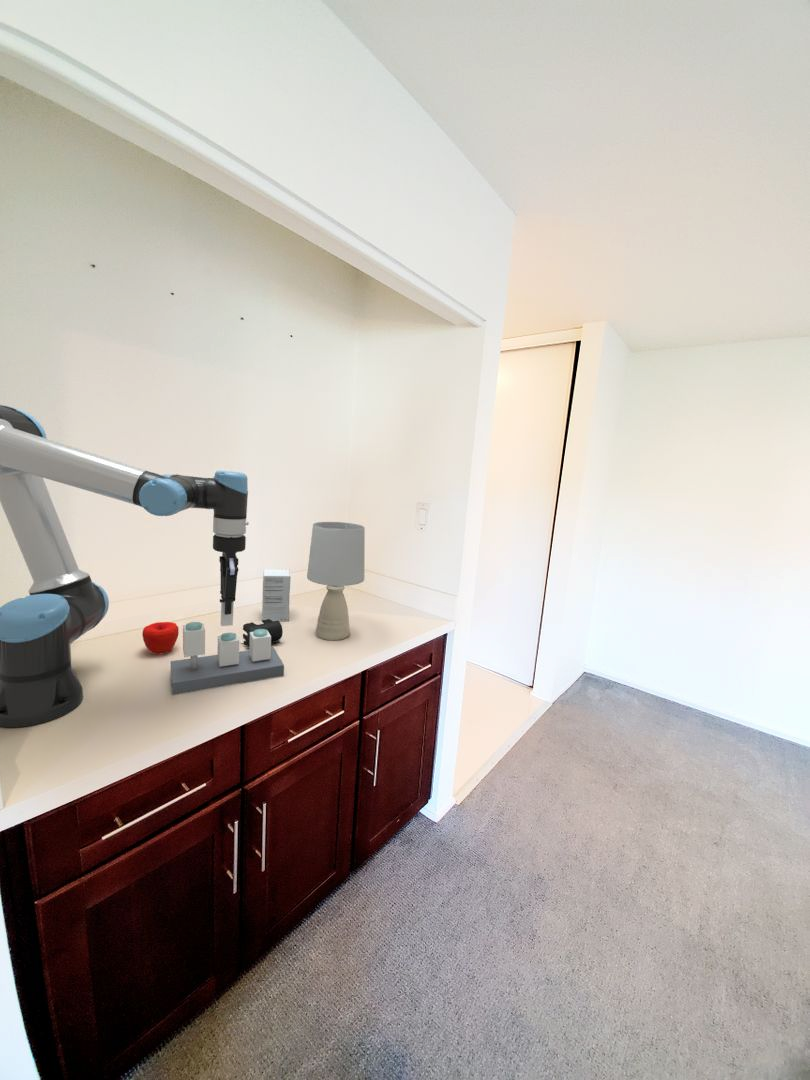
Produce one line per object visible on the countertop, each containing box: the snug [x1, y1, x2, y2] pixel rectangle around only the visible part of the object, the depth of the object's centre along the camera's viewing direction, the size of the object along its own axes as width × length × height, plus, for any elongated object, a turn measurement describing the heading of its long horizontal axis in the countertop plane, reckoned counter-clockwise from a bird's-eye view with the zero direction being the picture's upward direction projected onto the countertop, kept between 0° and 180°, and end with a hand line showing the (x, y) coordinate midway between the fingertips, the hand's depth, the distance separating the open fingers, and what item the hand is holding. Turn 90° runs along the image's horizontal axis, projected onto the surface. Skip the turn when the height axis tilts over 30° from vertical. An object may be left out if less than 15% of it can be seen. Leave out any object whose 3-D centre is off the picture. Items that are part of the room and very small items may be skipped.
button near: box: [182, 621, 206, 658], centre depth 105 cm, size 5×5×7 cm
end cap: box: [242, 619, 284, 648], centre depth 130 cm, size 10×7×7 cm
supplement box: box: [261, 568, 291, 622], centre depth 152 cm, size 10×9×17 cm
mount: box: [170, 646, 285, 696], centre depth 111 cm, size 26×12×8 cm, turn 120°
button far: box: [248, 629, 272, 662], centre depth 114 cm, size 5×5×7 cm
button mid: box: [217, 632, 240, 667], centre depth 110 cm, size 5×5×7 cm
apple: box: [141, 621, 179, 655], centre depth 120 cm, size 9×9×8 cm
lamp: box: [306, 521, 366, 641], centre depth 139 cm, size 19×19×37 cm
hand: (226, 624), depth 109 cm, fingers closed
